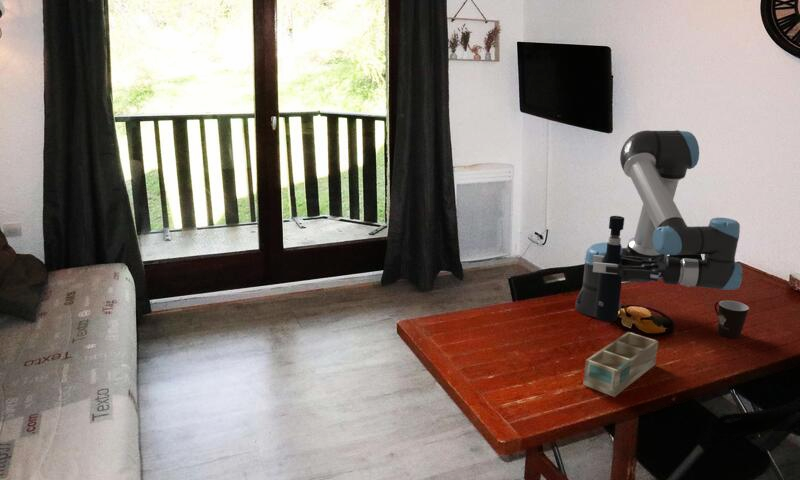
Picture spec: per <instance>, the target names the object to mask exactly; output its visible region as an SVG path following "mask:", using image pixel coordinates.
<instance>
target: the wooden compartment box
mask: <svg viewBox="0 0 800 480" xmlns="http://www.w3.org/2000/svg"><path fill="white" fill-rule="evenodd" d="M658 346H659V341H658V340H656V339H653V338H650V337H646V336H643V335H640V334H636V333H634V332H630V331H627V332H625V333H624V334H623V335H621V336H620V337H618V338H616V339H615V340H614V341H611V343H609V344H608V345H605V346H604V347H603V348H601V349H600V350H598V351H597V352H595V353H594V354H593V355H591V356H590V357H588V358H586V359H585V364H584V373H583V374H584V375H583V382H582V386H585V387H588V388H589V389H592V390H595V391H598V392H600V393H602V394H606V395H607V396H608V395H609V396H611V397H613V398H616V397H617V396H618V395H619V394H620V393H621V392H623V391H624V390H625V389H626V388H628V387H629V386H630V385H631V384H633V383H634V382H635V381H637V380H638V379H639V378H641V376H643V375H644V374H645V373H647V372H648V371H649V370H651V368H653V367H655V365H656V359H657V353H658V348H659V347H658Z"/></svg>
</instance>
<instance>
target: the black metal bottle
mask: <svg viewBox="0 0 800 480" xmlns="http://www.w3.org/2000/svg"><path fill="white" fill-rule="evenodd" d="M624 225H625V217H624V216H619V215H611V216H610V217H609V223H608V229H610V236H609V237H608V241H607V242H609V243H607V250H606V254H605V256H604V258H603V260H602V263H609V264H618V265H619V263H620V264H621V265H622V260H621V255H620V251H621V246H622V244H621V240H622V239H621V237H620V236H621V231H622V230H624ZM622 266H623V265H622ZM622 283H623V282H622V278H621V277H620V275H617V274H609V273H599V279H598V288H597V298H596V307H595V317H594V318H596V319H598V320H600V321H603V322H615V321H617V320H618V317H619V315H618V310H619V301H620V302H621V292H622Z"/></svg>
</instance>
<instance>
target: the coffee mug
mask: <svg viewBox="0 0 800 480" xmlns="http://www.w3.org/2000/svg"><path fill="white" fill-rule="evenodd" d="M717 305H718V308H717ZM749 309H750V307H749V306H748V305H746V304H745V303H743V302H739V301H737V300H736V301H735V300H721V301H716V302H715V303H714V311H715V313H716V315H717V317H718V320H717V321H718V322H717V334H718V335H719V336H721V337H723V338H727V339H732V340H736V339H739V338H740V337H741V334H742V330H743V328H744V325H745V321H746V318H747V316H748V312H749V311H750V310H749Z"/></svg>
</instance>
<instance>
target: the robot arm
mask: <svg viewBox="0 0 800 480" xmlns="http://www.w3.org/2000/svg"><path fill="white" fill-rule="evenodd" d="M699 158H700V146H699V142H698V140H697V138H696V136H695V135H694V134H693V133H692V132H691V131H688V130H687V131H684V130H679V129H676V130H641V131H638V132H635V133H634V134H632V135H631V136H629V137H628V138H627V140H626V141H625V142H624V144H623V146H622V148H621V150H620V155H619V160H620V161H619V162H620V166H621V169H622V171H623V173H624V175H625V176H627V177H628V178H630V179H631V181H632V184H634V188H635V189H636V191H637V194H638V195H639V197H640V199H641V201H642V206H641V207H642V208H641V210H640V215H639V219H638V223H637V225H636V226H637V227H636V231H635V234H634V237H632V238H630V239H629V241H628V242H627V247H623V246H622V245H621V251H620V255H621V260H622V265H623V266H622V265H621V264H620V263H619V265H618V264H609V263H602V260H603V258H604V256H605V254H606V250H607V243H609V242H608V241H607V242H605V241H604V242H599V243H595V244H592V245H590V246H589V247H588V248H587V249H586V254H585V257H584V269H583V279H582V287H581V289H580V292H579V293H578V295H577V298H576V299H575V304H574V307H575V308H574V309H575V310H576V311H577V312H579V313H580V314H582V315H585V316H587V317H592V318H596V317H595V307H596V298H597V288H598V279H599V273H609V274H617V275H620V277H621V278H622V283H631V282H632V283H633V282H635V283H637V282H638V283H639V282H643V283H649V282H659V280H661V279H662V283H663V284H666V285H667V284H668V285H678V284H679V286H685V287H687V288H690V287H698V288H707V289H715V290H724V291H725V290H727V291H729V290H730V291H732V290H738V289H739V288H740V286H741V284H742V280H743V268H742V264H741V263H738V262H736V258H735V257H736V254H737V253H736V252H737V248H738V243H739V240H740V234H741V233H740V232H741V229H740V228H741V224H740V223H739V222H738V221H737V220H735V219H732V218H727V217H713V218H711V219H710V220H709V224H708V225H707V226H704V225H703V226H697V225H696V226H688V225H687V223H686V221H685V220H684V218H683V217H682V214H681V212H680V210H679V209H678V207H677V204H676V203H675V201H674V198H675V195H676V191H677V187H678V184H679V181H680V180H682V179H684V178H685V177H686V174H687V171H688V170H691V169H694V168H695V167H696V166H697V165H698V162H699V160H700V159H699ZM678 255H680V256H683V255H704V259H698V258H697V259H696V258H687V257H685V258H684V257H683V258H681V259H680V258H679V257H674V256H678ZM621 308H622V306H621V300H620V301H619V310H620V309H621ZM619 310H618V311H619ZM620 311H621V310H620Z"/></svg>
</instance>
